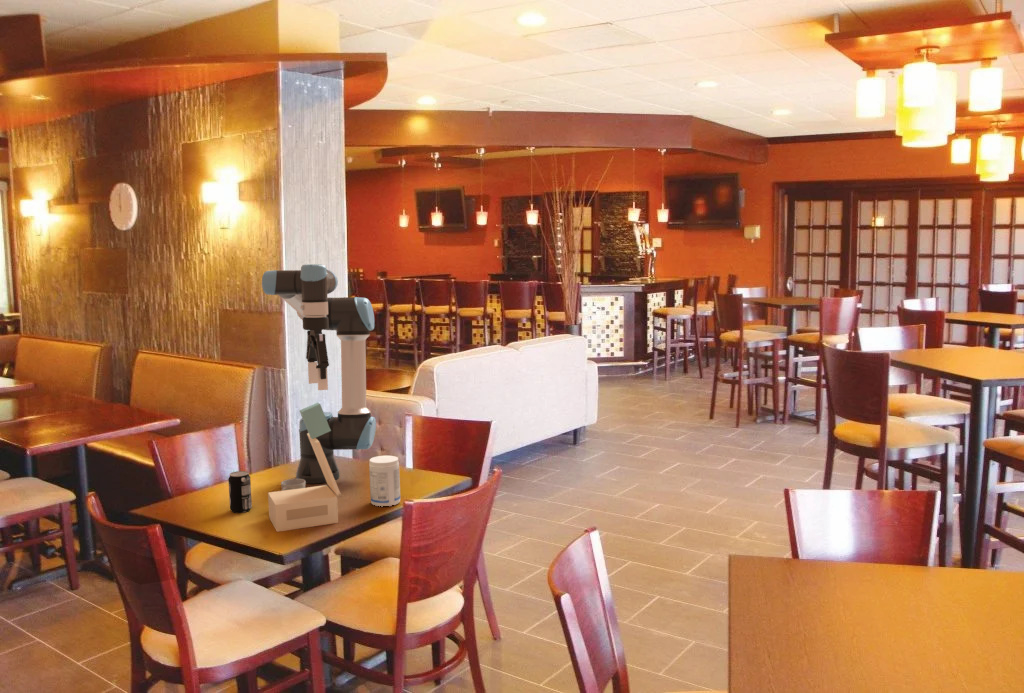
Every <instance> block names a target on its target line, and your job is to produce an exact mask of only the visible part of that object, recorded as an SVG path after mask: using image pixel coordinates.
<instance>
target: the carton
mask: <svg viewBox="0 0 1024 693" xmlns="http://www.w3.org/2000/svg"><path fill="white" fill-rule="evenodd" d="M267 497H268V499H267V501H268V502H267V503H268V519H269V521H271V524H272V525H273V527H274V529H275V531H276V532H284V531H285V532H286V531H291V530H292V531H293V530H298V529H305V528H311V527H317V526H324V525H331V524H338V523H339V512H338V509H339V508H338V496H337V495H336V493H335V492H334V491H333V490H332V489H331V488H330V487H329V486H328V484H324V485H316V486H310V487H309V486H308V487H305V488H300V489H292V490H284V491H281V490H278V491H271V492H270V491H269V492H267Z"/></svg>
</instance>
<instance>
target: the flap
mask: <svg viewBox="0 0 1024 693" xmlns="http://www.w3.org/2000/svg"><path fill="white" fill-rule="evenodd" d="M299 414H300V415H301V419H302V418H303V421H304V423H305V425H306V428H307V430H308V433H307V435H308V438H309V440H310V443H311V445H312V448H313V450H314V452H315V455H316V457H317V460H318V462H319V465H320V467H321V469H322V472H323V474H324V477H325V479H326V482H325V483H326V485H327V486H328V487H329V488H330V489H331V490H332V492H333V493H334V494H335V495H336V496H337V497H338V498H340V497H341V495H342V494H341V491H340V489H339V487H338V484H337V481H336V480H335V479H334V476H333V474H332V472H331V469H330V467H329V464H328V462H327V459H326V457H325V454H324V452H323V449H322V447H321V445H320V442H319V441H318V440H317V439H316V437H318V436H321V435H323V434H325V433H327V432H330V431H331V430H330V427H329V425H328V422H327V420H326V417H325V415H324V411H323V408H322V405H321V403H319V402H316V403H314V404H311V405H309V406H307V407H305V408H302V409H299Z"/></svg>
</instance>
